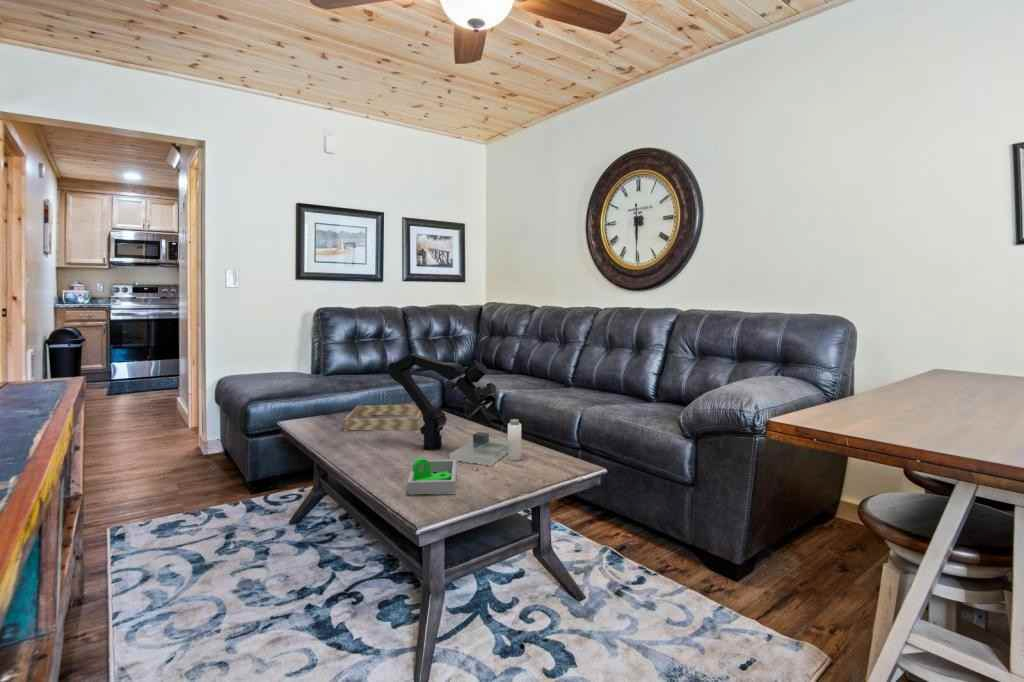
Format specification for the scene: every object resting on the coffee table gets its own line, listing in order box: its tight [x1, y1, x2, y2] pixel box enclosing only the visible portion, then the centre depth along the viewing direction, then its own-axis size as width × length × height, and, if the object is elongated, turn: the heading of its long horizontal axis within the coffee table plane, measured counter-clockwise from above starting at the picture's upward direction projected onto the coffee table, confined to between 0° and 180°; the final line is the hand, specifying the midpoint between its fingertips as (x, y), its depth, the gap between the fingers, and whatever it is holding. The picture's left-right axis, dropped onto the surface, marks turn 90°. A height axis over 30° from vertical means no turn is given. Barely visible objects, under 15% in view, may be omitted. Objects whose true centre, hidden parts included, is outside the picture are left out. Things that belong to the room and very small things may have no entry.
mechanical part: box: [411, 457, 452, 481], centre depth 172 cm, size 12×6×8 cm, turn 120°
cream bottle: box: [507, 418, 522, 461], centre depth 196 cm, size 5×5×14 cm
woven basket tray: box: [343, 404, 423, 431], centre depth 248 cm, size 32×28×5 cm
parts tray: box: [406, 459, 458, 495], centre depth 172 cm, size 14×20×4 cm
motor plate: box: [449, 431, 508, 467], centre depth 201 cm, size 16×22×6 cm
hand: (496, 421), depth 198 cm, fingers open, 9 cm apart
